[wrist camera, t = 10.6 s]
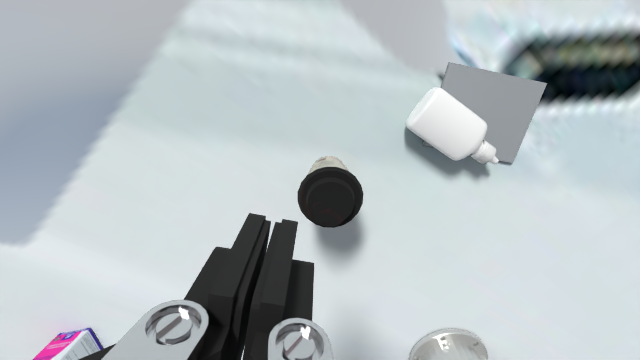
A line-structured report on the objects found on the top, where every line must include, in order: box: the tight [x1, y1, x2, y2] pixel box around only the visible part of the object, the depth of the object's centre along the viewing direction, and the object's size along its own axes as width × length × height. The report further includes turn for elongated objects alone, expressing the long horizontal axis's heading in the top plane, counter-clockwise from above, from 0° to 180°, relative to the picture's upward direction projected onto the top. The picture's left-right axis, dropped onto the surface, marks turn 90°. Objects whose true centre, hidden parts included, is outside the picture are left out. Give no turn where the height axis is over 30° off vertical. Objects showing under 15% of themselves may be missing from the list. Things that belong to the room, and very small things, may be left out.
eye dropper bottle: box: [405, 87, 499, 164], centre depth 36 cm, size 4×6×12 cm
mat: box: [422, 62, 547, 163], centre depth 37 cm, size 12×10×1 cm
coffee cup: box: [298, 156, 363, 227], centre depth 35 cm, size 7×7×10 cm
